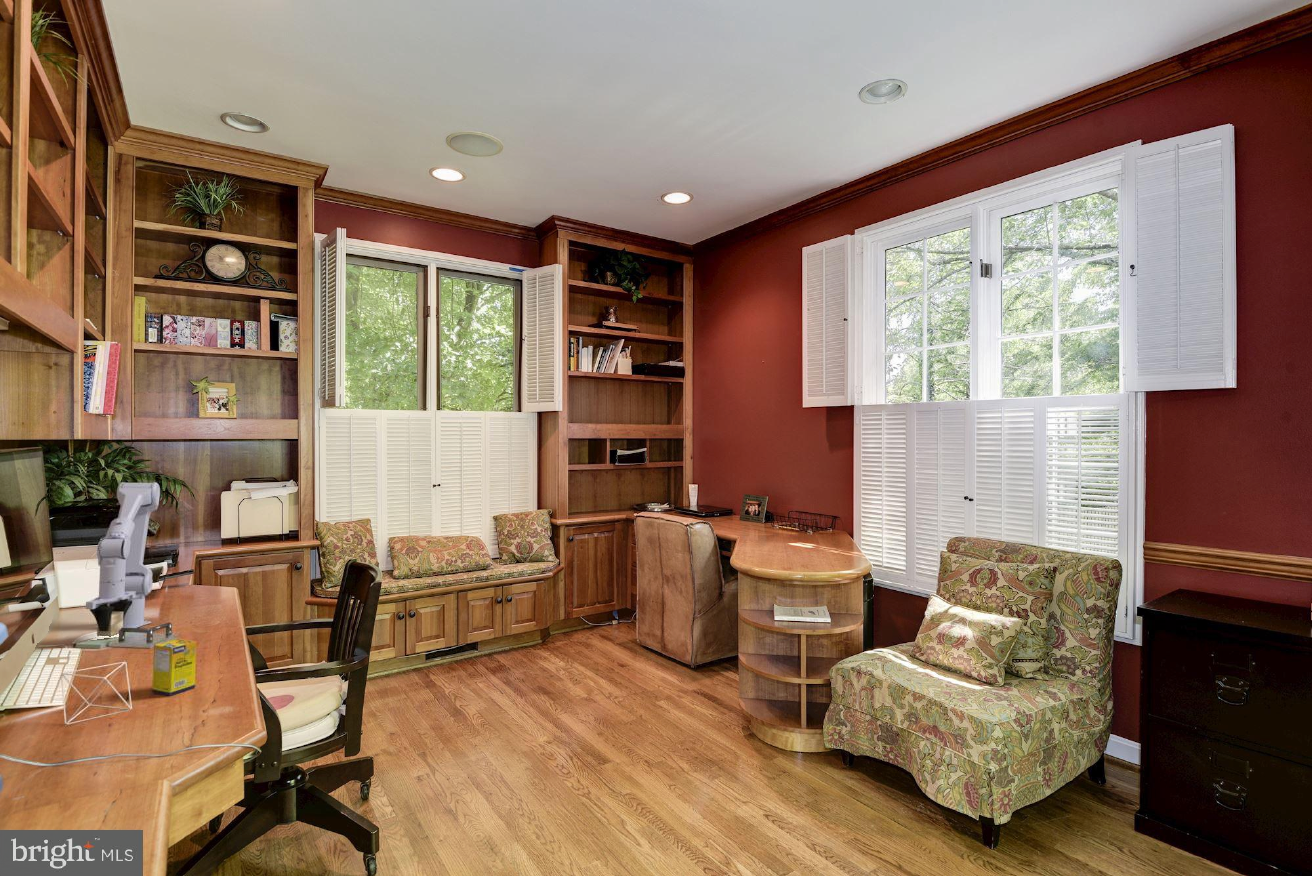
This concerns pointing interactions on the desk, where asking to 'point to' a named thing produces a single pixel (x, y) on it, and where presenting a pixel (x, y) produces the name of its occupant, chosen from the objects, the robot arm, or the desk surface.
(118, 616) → the maple block
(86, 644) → the pad
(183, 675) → the supplement box
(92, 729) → the desk surface
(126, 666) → the geometric polyhedron
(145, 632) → the beige flat handled piece
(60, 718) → the desk surface
